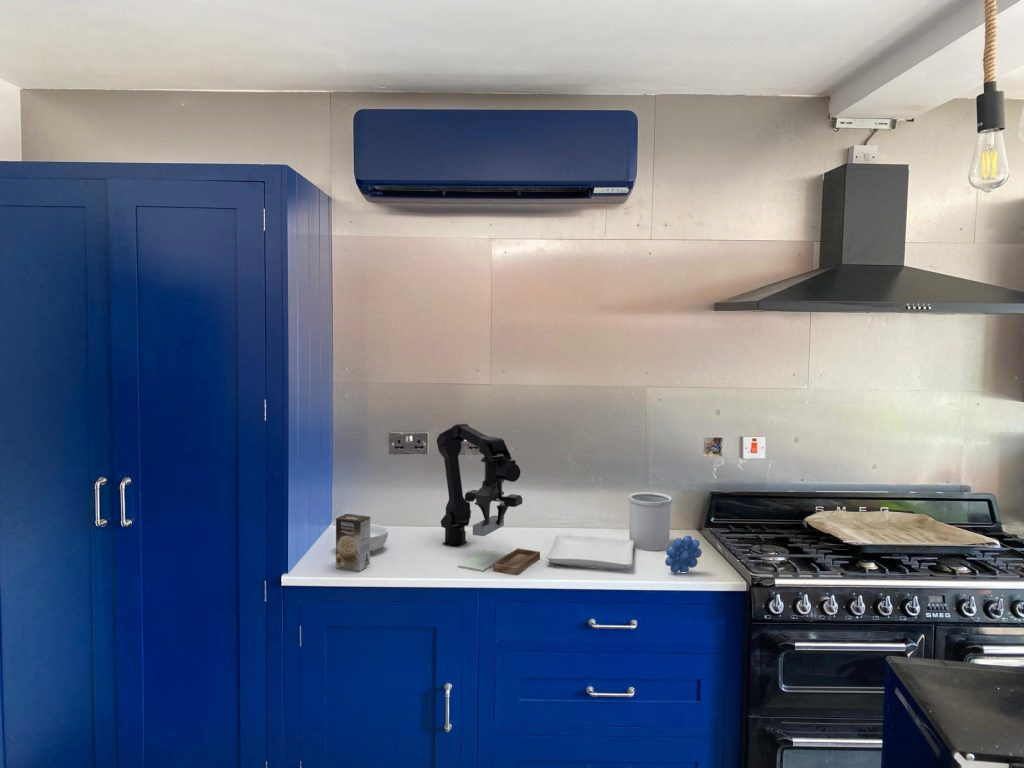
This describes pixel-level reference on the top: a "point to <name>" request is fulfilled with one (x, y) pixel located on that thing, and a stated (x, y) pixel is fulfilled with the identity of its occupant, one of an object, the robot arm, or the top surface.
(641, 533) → the utensil holder
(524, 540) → the top surface
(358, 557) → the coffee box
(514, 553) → the walnut slot tray
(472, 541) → the top surface
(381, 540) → the cereal bowl
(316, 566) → the top surface
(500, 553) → the sage mat
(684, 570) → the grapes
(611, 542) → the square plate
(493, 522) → the gunmetal bar
